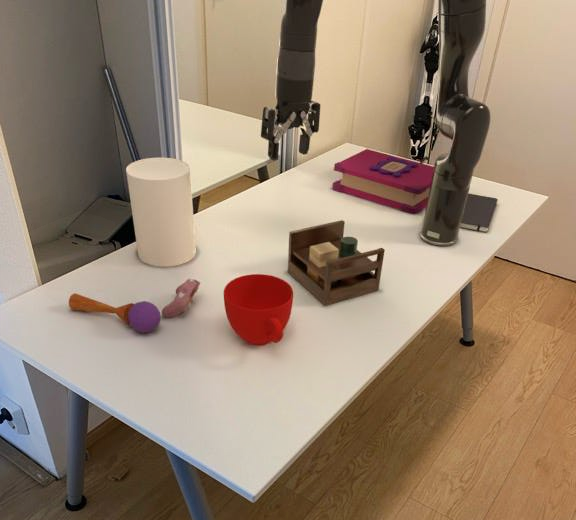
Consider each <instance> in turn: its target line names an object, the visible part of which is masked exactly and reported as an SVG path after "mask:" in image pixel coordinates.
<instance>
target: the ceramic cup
mask: <svg viewBox="0 0 576 520" xmlns="http://www.w3.org/2000/svg"><path fill="white" fill-rule="evenodd" d="M293 302H294V290H293V286H291V284H290V283H289V282H288V281H286V280H284V279H282V278H280V277H278V276H274V275H270V274H263V273H251V274H246V275H241V276H238V277H236V278H233V279H232V280H230V281H229V282H228V283H227V284H226V285H225V286H224V289H223V303H224V310H225V314H226V315H225V316H226V318H227V321H228V323H229V325H230V327H231V329H232V331H233V332H234V333H235V334H236V335H237V336H238V337H239V338H240V339H242V340H243V341H244V342H245V343H247V344H249V345H252V346H265V345H269V344H270V343H278V342H280V341H282V339H283V337H284V330H285V329H286V327H287V325H288V323H289V321H290V319H291V315H292V309H293V304H294V303H293Z"/></svg>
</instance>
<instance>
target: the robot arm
mask: <svg viewBox="0 0 576 520" xmlns="http://www.w3.org/2000/svg"><path fill="white" fill-rule="evenodd" d="M323 2H324V0H286V6H285V12H284V14H283V15H282V17H281V22H280V23H281V24H280V31H279V33H280V34H279V50H278V54H277V59H276V75H275V91H274V96H275V99H276V105H275V107H273V108H270V107H267V106H264V107H263V108H262V109H263V110H262V117H261V129H260V137H261V138H262V139H264V140H266V141H268V142H267V143H268V144H267V145H268V146H267V156H268V159H270V160H271V161H273V162H276V161H278V160H279V151H280V140H281V138H282V137H283V135H285V134H286V133H287V132H288V130H292V129H294V128H296V129H297V128H298V129H299V131H300V135H299V143H298V152H299V154H301V155H303V156H304V155H308V153H309V150H310V146H311V145H310V143H311V137H312V136H313V134H315V133H319V130H320V120H321V119H320V117H321V103H320V102H317V101H314V100H313V91H314V82H315V81H314V80H315V72H316V71H315V70H316V47H317V38H318V23H319V19H320V15H321V11H322V7H323ZM486 17H487V0H438V1H437V22H438V26H437V27H438V89H437V99H436V100H437V101H436V115H435V116H436V127H437V129H438V131H439V133H440V134H441V135H442V136H444V137H445V138H447V139H449V140H451V142H452V143H451V146H450V148H449V152H447V153H442V154H439V155H438V156H437V157H436V158H435V160H434V166H433V167H434V170H433V175H432V180H431V186H430V191H429V196H428V201H427V206H426V207H425V212H424V216H423V222H422V226H421V231H420V234H419V235H420V238H421V240H423V242H425V243H427V244H429V245H432V246H439V247H448V246H453V245H455V244H456V243H458V240H459V233H460V230H461V228H460V226H461V221H462V217H463V213H464V209H465V205H466V201H467V197H468V193H469V192H470V189H471V183H472V180H473V175H474V172H475V168H476V167H477V165H478V164H479V161H480V160H481V157H482V154H483V151H484V147H485V144H486V140H487V136H488V135H489V134H488V133H489V130H490V125H491V119H492V117H491V111H490V108H489V107H488V106H487V105H486V104H485V103H483V102H481V101H479V100H476V99H474V98H472V97H470V95H469V72H470V67H471V63H472V62H473V58H474V57H475V55H476V53H477V51H478V50H479V47H480V45H481V43H482V40H483V38H484V35H485V30H486V21H487V18H486ZM425 161H429V157H428V156H427V155H426V156H423V158H421V160H420V161H419V163H422V164H424V162H425Z"/></svg>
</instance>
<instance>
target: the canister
mask: <svg viewBox="0 0 576 520" xmlns="http://www.w3.org/2000/svg"><path fill="white" fill-rule="evenodd" d="M125 173H126V179H127V180H126V181H127V187H128V194H129V199H130V201H129V202H130V206H131V207H130V208H131V214H132V221H133V229H134V235H135V242H136V250H137V256H138V258H139V260H140V261H141V262H143V263H145V264H147V265H150V266H154V267H176V266H180V265H183V264H185V263H188V262H190V261H191V260H193V259H194V257H195V256H196V253H197V249H196V248H197V247H196V246H197V245H196V234H195V220H194V206H193V194H192V193H193V192H192V179H191V166H190V165H189V163H187V161H183V160H181V159H177V158H172V157H147V158H142V159H138V160H135V161H132V162H131V163H129V164H128V165H127V166H126V168H125Z"/></svg>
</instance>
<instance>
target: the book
mask: <svg viewBox="0 0 576 520" xmlns="http://www.w3.org/2000/svg"><path fill="white" fill-rule="evenodd" d="M433 170H434V166H433V165H429V164H425V163H420V162H417V161H414V160H410V159H406V158H403V157H399V156H395V155H393V154H387V153H384V152H381V151H376V150H372V149H369V148H366V149H364V150H361V151H360V152H358V153H356V154H353V155H351V156H349V157H347V158H345V159H343V160H341V161H338V162H336V163H334V166H333V171H335V172H338V173H341V174H342V178H340V179H339V180H335V181H333V182H332V186H331V189H332V191H336V192H339V193H345V194H348V195H351V196H354V197H357V198H361V199H364V200H367V201H370V202H374V203H377V204H381V205H382V206H383V205H384V206H387V207H390V208H393V209H396V210H400V212H404V213H408V214H411V215H417V214H419V213H420V212H421V211H423V209H426V206H427V201H428V196H429V191H430V186H431V180H432V175H433Z"/></svg>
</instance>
